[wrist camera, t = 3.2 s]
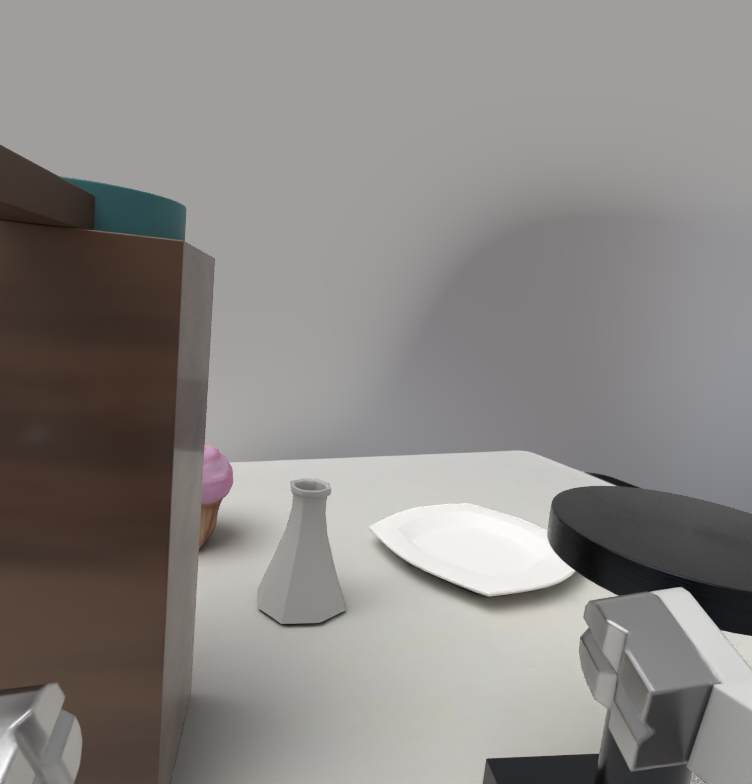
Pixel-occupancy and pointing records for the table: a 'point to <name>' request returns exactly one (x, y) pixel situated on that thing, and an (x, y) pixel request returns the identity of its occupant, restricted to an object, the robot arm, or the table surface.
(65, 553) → the pedestal
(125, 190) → the disc paddle
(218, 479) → the cupcake
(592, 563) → the display stand
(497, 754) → the table surface
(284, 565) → the flask
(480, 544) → the plate
